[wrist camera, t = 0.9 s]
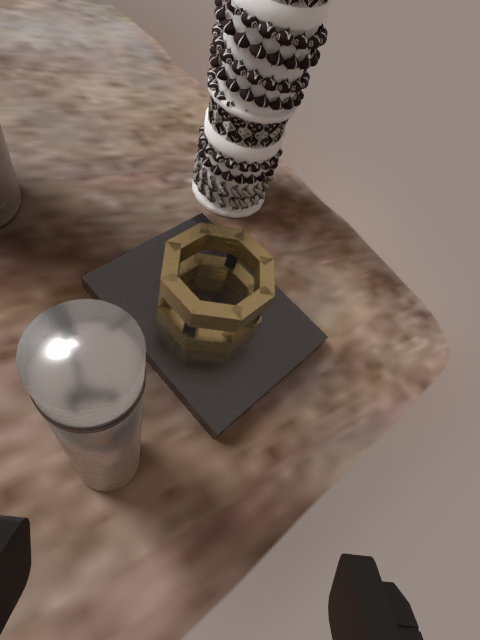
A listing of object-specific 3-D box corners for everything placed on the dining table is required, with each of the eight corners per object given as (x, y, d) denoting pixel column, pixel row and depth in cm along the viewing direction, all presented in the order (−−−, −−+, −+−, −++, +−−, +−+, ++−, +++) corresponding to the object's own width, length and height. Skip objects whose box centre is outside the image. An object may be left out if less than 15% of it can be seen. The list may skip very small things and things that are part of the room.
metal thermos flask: (64, 457, 31) (-12, 339, 15) (116, 418, 33) (100, 278, 17) (101, 506, 30) (62, 439, 14) (152, 463, 32) (172, 360, 16)
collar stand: (82, 286, 38) (72, 230, 32) (200, 222, 45) (211, 166, 38) (214, 439, 34) (233, 411, 27) (321, 344, 40) (357, 303, 34)
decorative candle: (171, 190, 46) (203, -127, 25) (218, 151, 51) (277, -142, 30) (239, 234, 45) (333, -57, 24) (281, 190, 50) (389, -85, 29)
